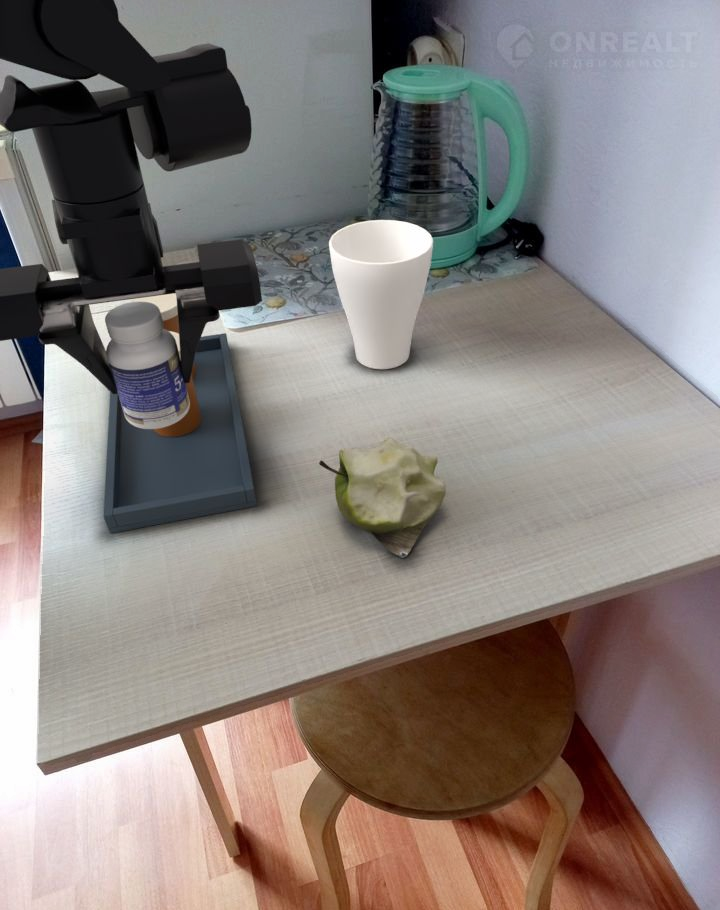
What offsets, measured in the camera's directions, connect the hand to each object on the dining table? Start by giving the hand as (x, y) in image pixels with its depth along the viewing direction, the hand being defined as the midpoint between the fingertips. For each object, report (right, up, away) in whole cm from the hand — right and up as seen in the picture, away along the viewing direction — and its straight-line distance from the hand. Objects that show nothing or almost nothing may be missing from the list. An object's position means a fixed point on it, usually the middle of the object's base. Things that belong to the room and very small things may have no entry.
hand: (152, 385), depth 56 cm
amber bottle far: (-4, +3, +21) cm, 21 cm away
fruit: (+19, -11, +5) cm, 22 cm away
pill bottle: (0, -2, +2) cm, 3 cm away
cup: (+19, +6, +24) cm, 31 cm away
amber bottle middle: (-2, -2, +14) cm, 15 cm away
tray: (-2, -3, +15) cm, 15 cm away
